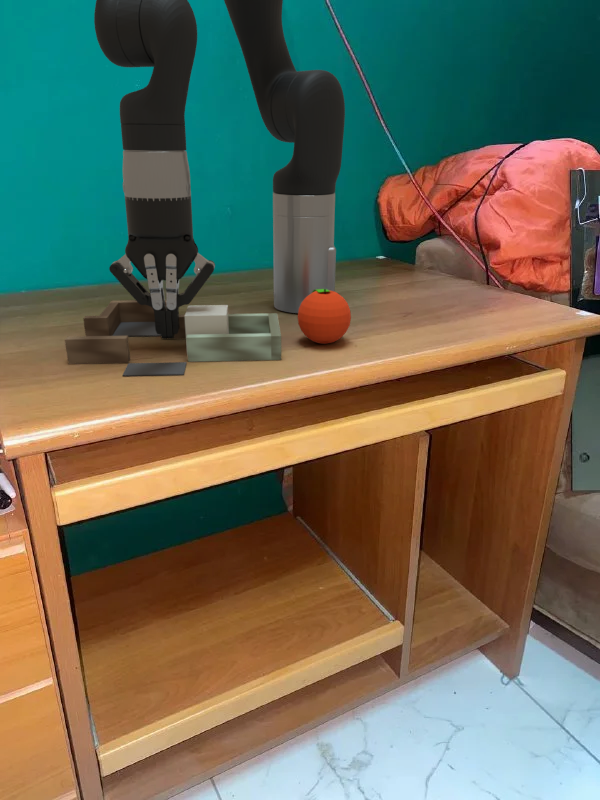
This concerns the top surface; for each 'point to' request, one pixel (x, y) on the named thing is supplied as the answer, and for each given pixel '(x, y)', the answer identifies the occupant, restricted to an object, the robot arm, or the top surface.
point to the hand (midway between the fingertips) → (168, 336)
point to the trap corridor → (131, 319)
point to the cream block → (206, 320)
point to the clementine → (324, 316)
